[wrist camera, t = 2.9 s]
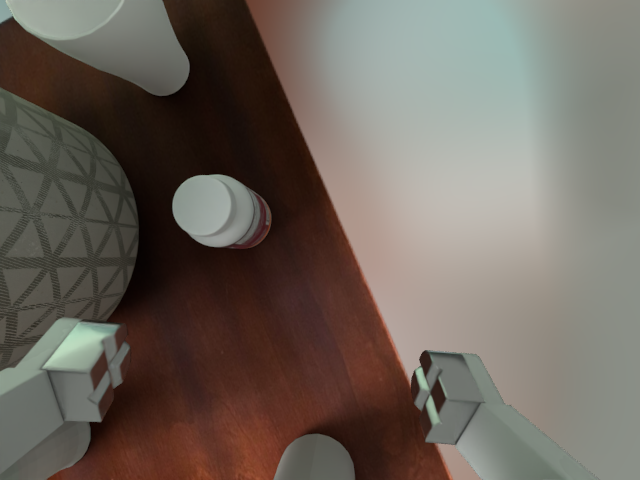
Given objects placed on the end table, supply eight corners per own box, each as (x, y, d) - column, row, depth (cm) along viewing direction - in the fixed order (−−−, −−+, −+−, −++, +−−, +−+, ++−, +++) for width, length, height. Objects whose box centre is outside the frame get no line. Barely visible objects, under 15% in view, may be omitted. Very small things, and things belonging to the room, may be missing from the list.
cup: (106, 49, 40) (-17, -57, 27) (189, 9, 40) (105, -121, 26) (138, 131, 39) (28, 64, 26) (223, 91, 39) (156, 1, 25)
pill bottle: (204, 226, 38) (145, 212, 27) (239, 180, 38) (193, 147, 27) (249, 261, 37) (206, 262, 26) (284, 214, 37) (257, 196, 26)
